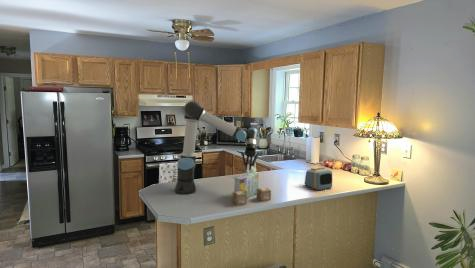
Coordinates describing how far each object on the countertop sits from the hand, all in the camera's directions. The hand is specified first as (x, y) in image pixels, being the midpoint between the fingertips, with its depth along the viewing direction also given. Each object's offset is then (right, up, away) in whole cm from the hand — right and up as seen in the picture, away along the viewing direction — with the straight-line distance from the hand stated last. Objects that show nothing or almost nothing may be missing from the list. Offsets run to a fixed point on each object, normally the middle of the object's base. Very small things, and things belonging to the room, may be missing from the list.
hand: (247, 173), depth 214 cm
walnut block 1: (-6, -18, -13) cm, 23 cm away
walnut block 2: (+11, -17, -3) cm, 21 cm away
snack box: (-1, -16, +2) cm, 16 cm away
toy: (+2, -11, +47) cm, 48 cm away
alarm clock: (+57, -15, +30) cm, 66 cm away
